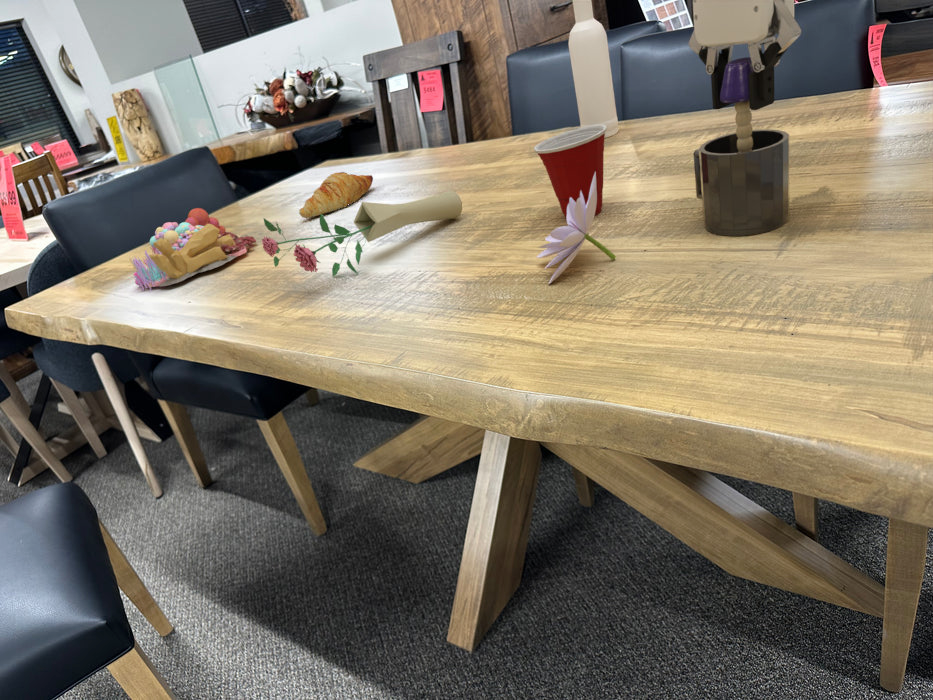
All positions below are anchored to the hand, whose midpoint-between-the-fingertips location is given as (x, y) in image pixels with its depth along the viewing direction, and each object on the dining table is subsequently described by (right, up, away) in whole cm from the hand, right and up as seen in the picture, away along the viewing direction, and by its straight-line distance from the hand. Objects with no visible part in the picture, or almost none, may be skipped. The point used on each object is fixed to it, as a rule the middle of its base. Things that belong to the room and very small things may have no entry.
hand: (742, 104), depth 74 cm
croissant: (-60, +4, +69) cm, 91 cm away
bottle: (-3, +18, +66) cm, 68 cm away
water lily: (-18, -17, +8) cm, 26 cm away
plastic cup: (-14, -8, +24) cm, 29 cm away
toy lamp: (+3, -10, +6) cm, 12 cm away
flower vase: (-46, -14, +29) cm, 56 cm away
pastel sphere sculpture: (-86, -11, +54) cm, 102 cm away
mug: (+3, -12, +8) cm, 14 cm away
